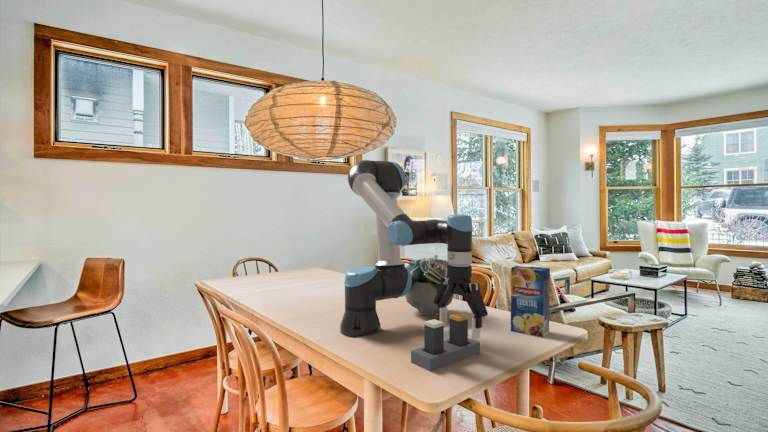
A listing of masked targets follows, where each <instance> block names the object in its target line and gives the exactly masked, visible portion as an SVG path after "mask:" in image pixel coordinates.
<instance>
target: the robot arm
mask: <svg viewBox="0 0 768 432" xmlns="http://www.w3.org/2000/svg"><path fill="white" fill-rule="evenodd" d="M405 174H406V173H405V171H404V169H403V167H402V166H401V165H400V164H399V163H398V162H392V161H389V160H368V159H364V160H360V161H357V162H356V163H354V164H353V165H352V166H351V168H350V169H349V171H348V176H347V182H348V185H349V188H350V189H351V190H352V192H353V193H354V194H355V195H356V196H359V197H361V198H362V199H363V200H364V202H366V204H367V205H368V207H370V209H371V210H372V211H373V212H374V213H375V217H376V236H377V253H378V261H377V262H376V263H375V267H374V266H359V267H354V268H351V269H350V270H348V271H346V273H345V276H344V312H343V315H342V319H341V323H340V325H339V326H340V329H339V330H340V332H339V333H341V334H342V335H345V336H347V337H356V338H361V337H364V336H371V335H374V334H377V333H381V331H382V330H381V329H382V328H381V327H382V326H381V325H382V324H381V321H380V318H379V315H378V312H377V301H384V300H389V299H399V298H401V297H402V298H403V297H405V295H406V294H407V293H408V292H409V290H410V288H411V285H412V276H411V273H410V271H409V269H408V268H406V267H407V266H406V265H405V264H406V263H405V262H404V261H403V260H402V259H401V249H400V248H401V247H405V246H414V245H427V244H429V245H430V244H444V245H447V248H446V249H447V250H446V251H447V260H446V261H447V263H449V265H448V266H447V276H448V277H449V279H448V277H443V278H441V281H440V286H439V289H438V291H437V294H436V296H435V299H434V304H436V305H437V306H438V314H437V316H438V317H439V321H441V322H444V329H445V328H447V327H448V306H447V307H444V306H446V304H447V302H448V301H449V300H450V298H451V297H452V295H453V294H454V295H458V296H461V297H462V299H465V301H466V304H467V305H468V307H469V309H470V311H471V313H472V314H473V316H472V318H471V339H472V340H477V339H479V338H481V337H480V336H481V328H482V325H483V324H482V323H483V322H482V321H483V317H486V316H488V315H489V314H488V313H489V312H488V310H487V307H486V304H485V302H484V301H485V300H484V298H483V296H482V293H481V289H480V288H481V287H480V283H479V282H475V283H472V281H471V278H472V276H473V275H472V273H473V272H472V271H473V269H472V268H473V267H472V264H473V231H474V230H473V219H472V217H471V215H467V214H449V215H448V216H447V220H442V219H441V220H439V219H428V220H412V218H411V217H410V216H409V215H408V214H407V213H405V211H404V210H403V209H402V208H401V207H400V206H399V205H398V197H400V195H401V191H402V190H403V189H404V188H405V184H406V175H405ZM448 284H449V288H448V289H447V286H448ZM446 289H447V291H446ZM445 291H446V293H445ZM444 294H445V295H444Z"/></svg>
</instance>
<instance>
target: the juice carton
mask: <svg viewBox="0 0 768 432" xmlns="http://www.w3.org/2000/svg"><path fill="white" fill-rule="evenodd" d="M550 269H551V268H550V267H542V266H530V265H522V264H521V265H520V264H517V265H514V266H512V267H511V269H510V270H511V271H510V272H511V273H510V274H511V277H510V281H511V282H510V332H513V333H517V334H524V335H527V336H528V335H529V336H533V337H538V338H544V337H546V336H547V335H548V333H550V292H551V291H550V283H551V282H550V280H551V278H550V275H551V270H550Z"/></svg>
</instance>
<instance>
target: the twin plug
mask: <svg viewBox="0 0 768 432" xmlns="http://www.w3.org/2000/svg"><path fill="white" fill-rule="evenodd" d="M423 324H424V330H423V331H424V333H423V334H424V336H423V337H424V345H423V347H424V351H425V352H427V353H430V354H432V355H436V354H439V353H442V352H444V332H445V330H444V329H445V328H444V322H441V321H440V320H439V319H438V320H437V319H435V318H433V319H429V320H425V321H424V322H423Z"/></svg>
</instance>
